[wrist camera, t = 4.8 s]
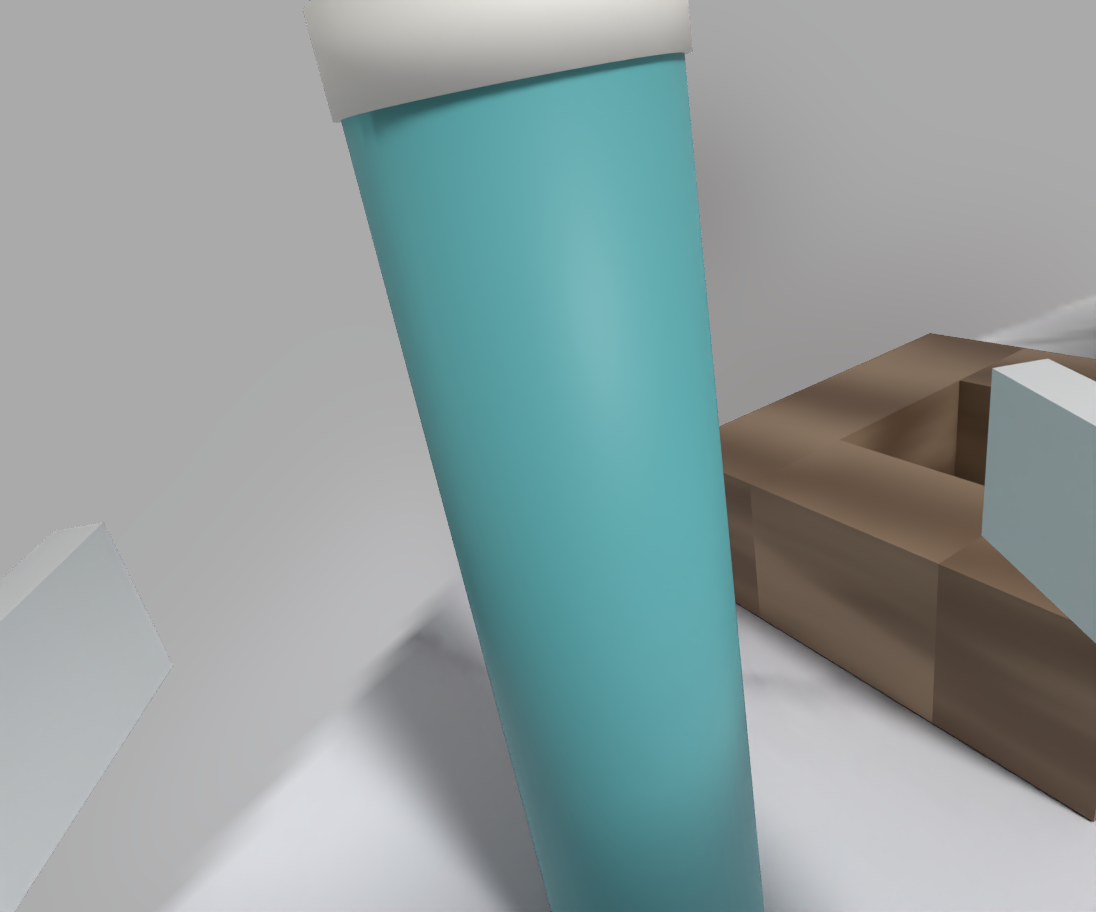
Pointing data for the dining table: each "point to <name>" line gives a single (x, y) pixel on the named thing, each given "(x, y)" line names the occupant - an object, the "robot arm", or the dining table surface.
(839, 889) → the dining table surface
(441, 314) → the peg
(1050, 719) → the socket block
